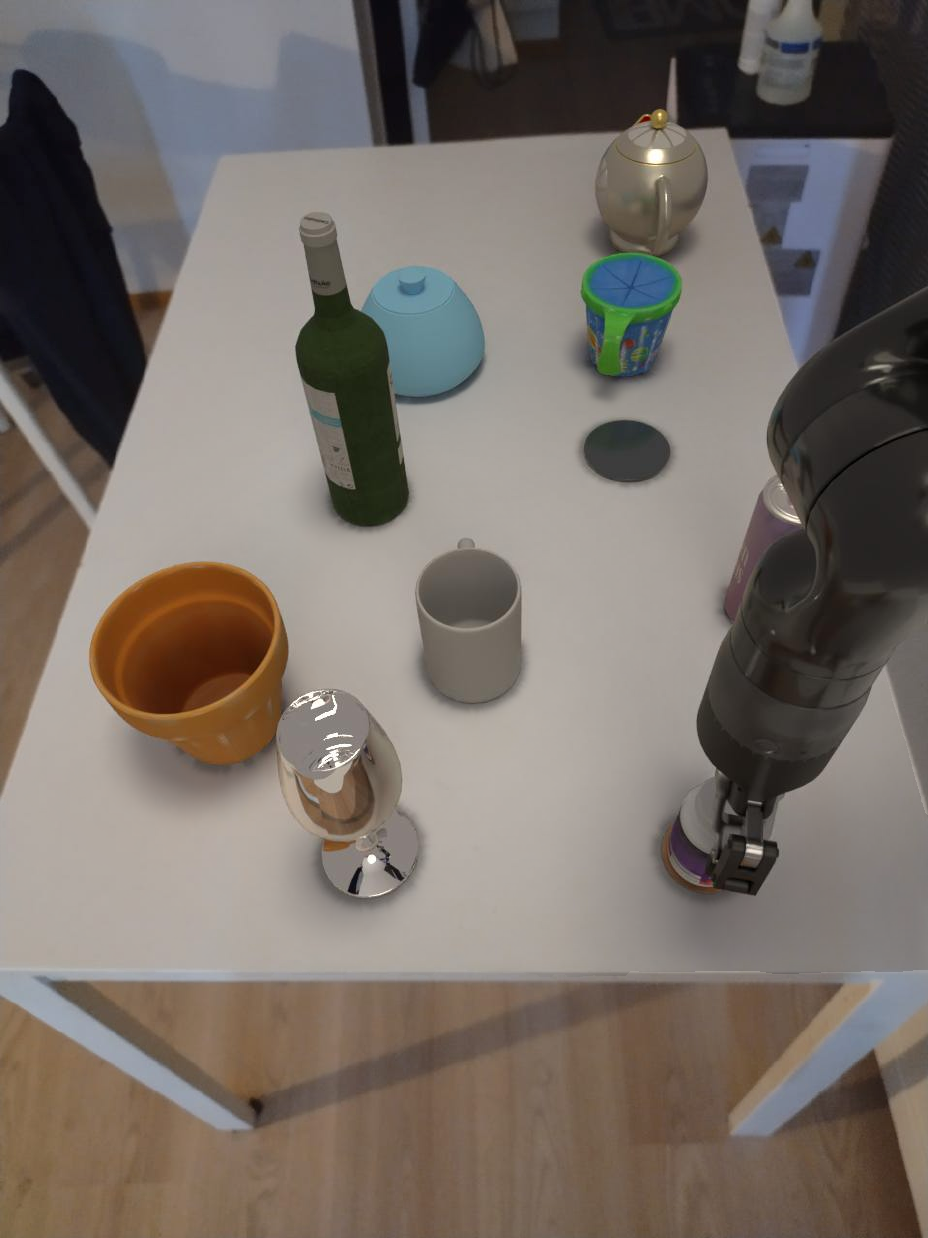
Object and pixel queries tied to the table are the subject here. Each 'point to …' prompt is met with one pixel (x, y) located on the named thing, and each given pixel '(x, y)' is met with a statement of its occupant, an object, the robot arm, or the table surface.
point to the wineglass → (346, 791)
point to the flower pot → (195, 660)
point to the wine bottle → (349, 389)
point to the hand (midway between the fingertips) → (723, 813)
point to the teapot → (650, 185)
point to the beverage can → (761, 537)
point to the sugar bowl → (426, 330)
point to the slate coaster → (626, 451)
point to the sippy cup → (628, 310)
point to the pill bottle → (694, 834)
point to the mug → (470, 622)
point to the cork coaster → (675, 875)
